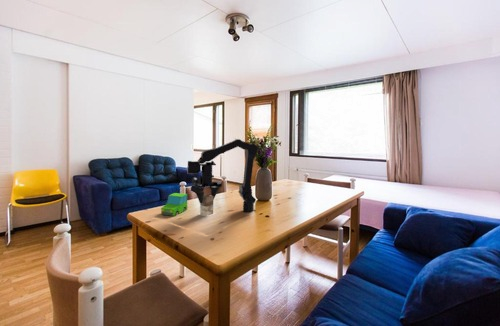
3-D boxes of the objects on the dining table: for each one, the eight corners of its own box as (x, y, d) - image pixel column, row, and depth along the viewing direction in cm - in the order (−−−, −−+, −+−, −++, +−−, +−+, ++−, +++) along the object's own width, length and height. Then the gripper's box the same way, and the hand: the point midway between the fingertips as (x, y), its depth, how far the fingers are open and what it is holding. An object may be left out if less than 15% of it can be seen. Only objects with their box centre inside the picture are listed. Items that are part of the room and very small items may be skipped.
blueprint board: (207, 209, 139) (207, 208, 139) (220, 213, 134) (220, 211, 134) (189, 216, 128) (189, 214, 128) (202, 220, 122) (202, 218, 122)
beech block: (206, 211, 134) (206, 203, 133) (213, 213, 131) (213, 204, 130) (200, 214, 129) (200, 205, 129) (206, 215, 127) (206, 206, 126)
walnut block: (213, 204, 130) (213, 195, 130) (207, 206, 126) (207, 197, 126) (206, 203, 133) (206, 194, 132) (200, 205, 129) (200, 196, 128)
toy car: (158, 216, 127) (158, 198, 126) (173, 209, 139) (173, 192, 138) (175, 218, 124) (175, 200, 123) (188, 211, 136) (188, 194, 135)
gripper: (208, 170, 140) (208, 196, 142) (183, 174, 124) (183, 202, 126) (222, 172, 134) (222, 198, 135) (198, 176, 118) (198, 206, 120)
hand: (206, 201), depth 129 cm, fingers open, 9 cm apart
